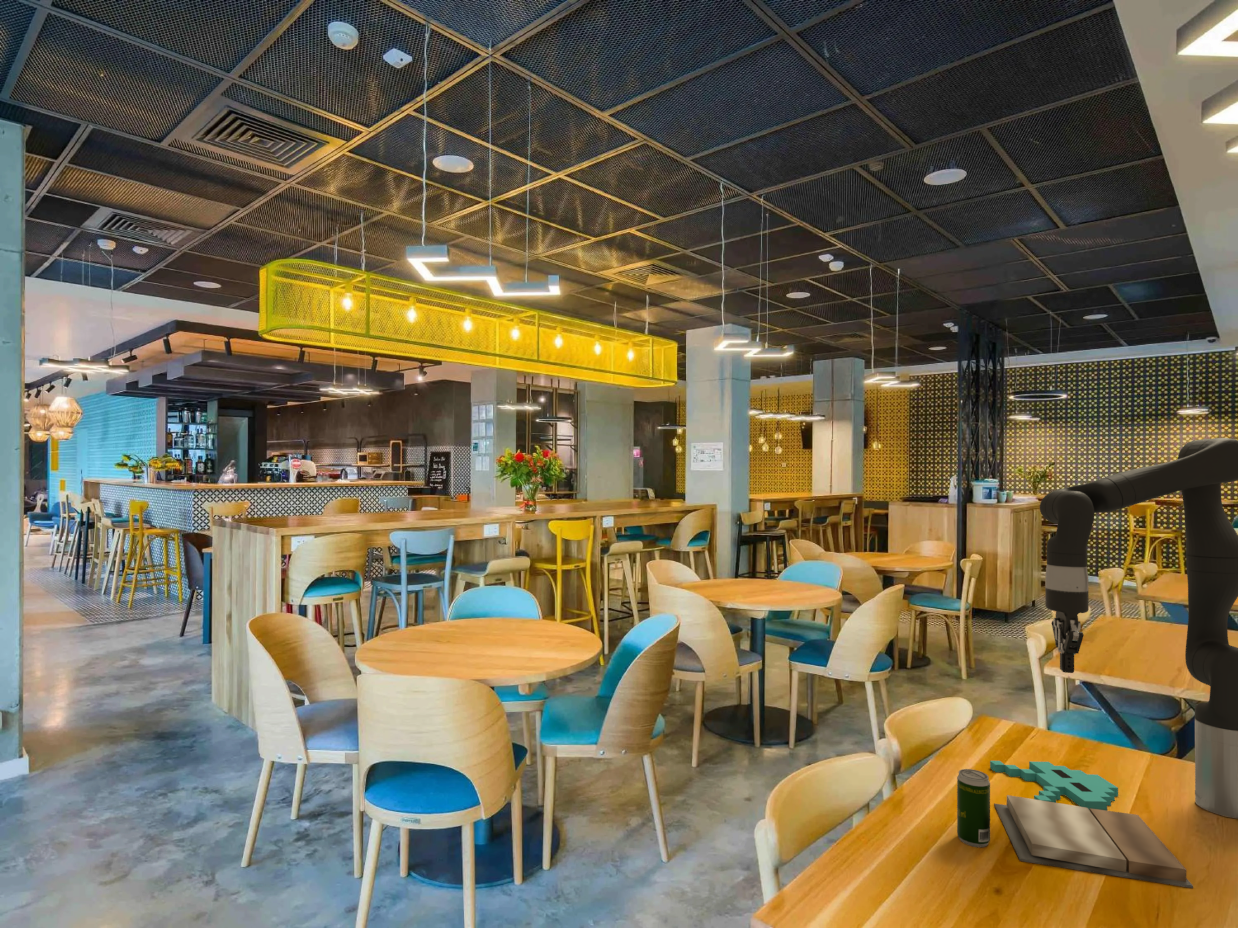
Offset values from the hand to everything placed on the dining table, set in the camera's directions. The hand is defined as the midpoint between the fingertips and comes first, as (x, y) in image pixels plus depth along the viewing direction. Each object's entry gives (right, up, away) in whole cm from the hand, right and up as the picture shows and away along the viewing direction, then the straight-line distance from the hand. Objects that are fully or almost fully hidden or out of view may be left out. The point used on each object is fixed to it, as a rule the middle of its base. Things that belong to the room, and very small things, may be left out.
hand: (1067, 671), depth 145 cm
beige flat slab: (-11, -26, -15) cm, 32 cm away
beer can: (-27, -26, -16) cm, 41 cm away
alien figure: (+3, -28, +7) cm, 29 cm away
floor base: (-7, -27, -16) cm, 32 cm away
